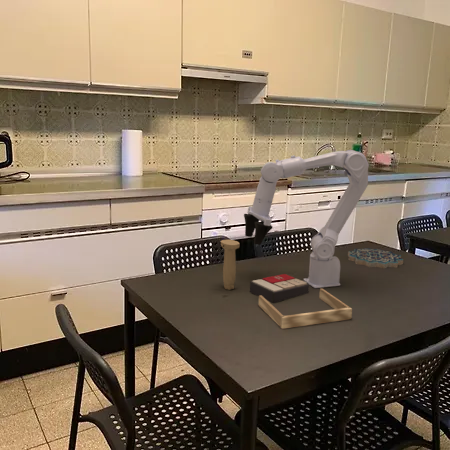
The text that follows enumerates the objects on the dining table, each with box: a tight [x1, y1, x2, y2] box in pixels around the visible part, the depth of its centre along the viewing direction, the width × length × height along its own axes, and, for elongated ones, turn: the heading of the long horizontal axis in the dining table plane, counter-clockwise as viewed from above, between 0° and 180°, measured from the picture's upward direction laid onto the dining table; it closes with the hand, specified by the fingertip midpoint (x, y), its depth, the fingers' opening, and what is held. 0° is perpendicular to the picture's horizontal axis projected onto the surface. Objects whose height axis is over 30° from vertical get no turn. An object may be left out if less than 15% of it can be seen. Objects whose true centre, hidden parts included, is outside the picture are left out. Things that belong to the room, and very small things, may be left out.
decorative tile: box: [347, 247, 404, 269], centre depth 176 cm, size 20×20×2 cm
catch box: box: [258, 287, 353, 330], centre depth 127 cm, size 21×16×3 cm
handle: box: [220, 239, 240, 291], centre depth 142 cm, size 5×6×15 cm
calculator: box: [249, 273, 310, 304], centre depth 141 cm, size 11×4×15 cm
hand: (252, 240), depth 147 cm, fingers open, 7 cm apart
